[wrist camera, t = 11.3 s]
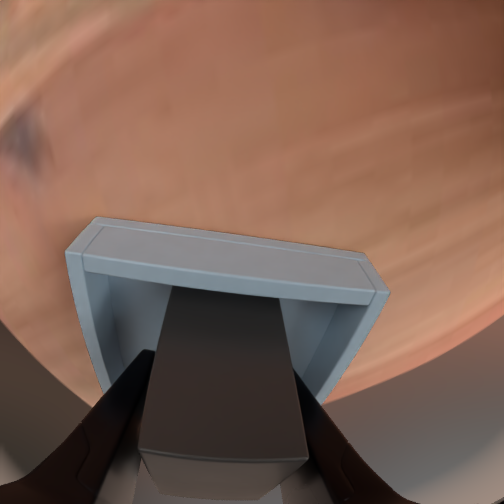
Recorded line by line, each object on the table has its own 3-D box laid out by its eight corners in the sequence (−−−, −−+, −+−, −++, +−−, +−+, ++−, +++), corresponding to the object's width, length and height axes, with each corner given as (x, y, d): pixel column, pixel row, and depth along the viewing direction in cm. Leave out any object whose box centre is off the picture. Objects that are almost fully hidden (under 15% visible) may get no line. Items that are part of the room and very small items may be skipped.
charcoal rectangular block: (278, 290, 8) (311, 459, 4) (250, 379, 11) (258, 500, 6) (173, 277, 8) (135, 450, 4) (173, 371, 10) (159, 494, 6)
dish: (364, 252, 8) (392, 292, 7) (293, 397, 12) (300, 433, 11) (95, 215, 7) (63, 250, 6) (121, 379, 11) (112, 416, 10)
